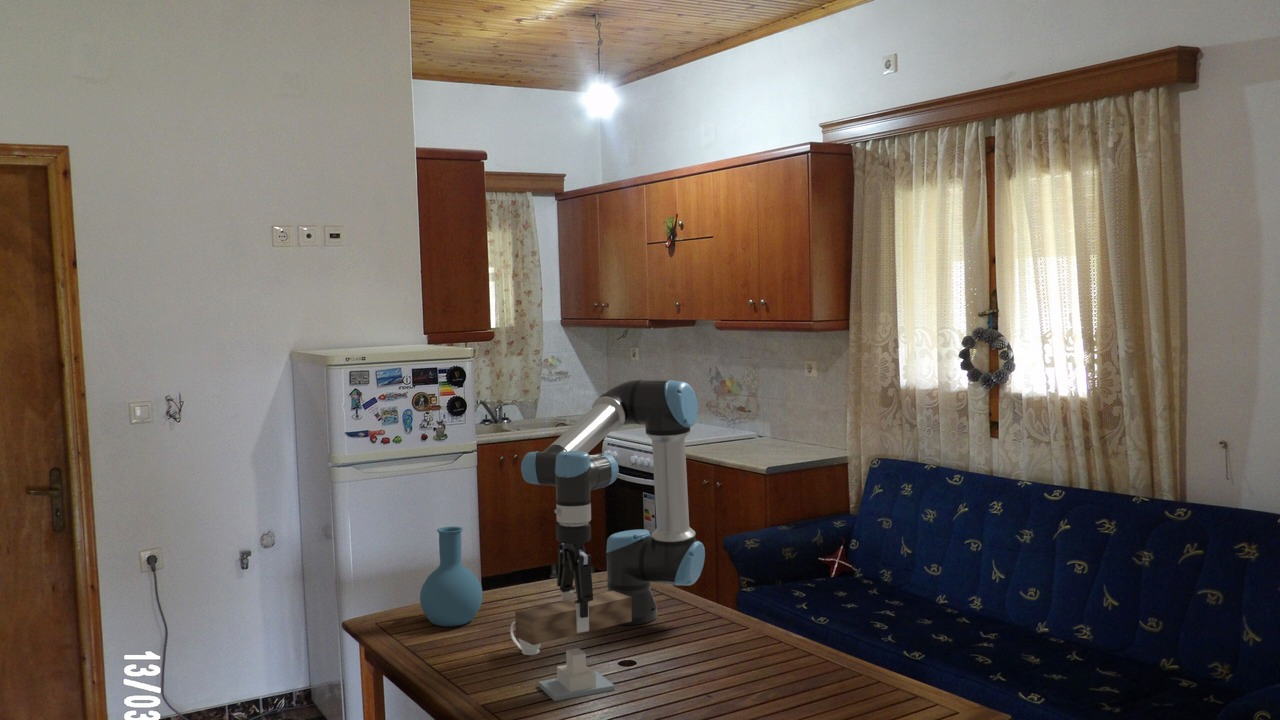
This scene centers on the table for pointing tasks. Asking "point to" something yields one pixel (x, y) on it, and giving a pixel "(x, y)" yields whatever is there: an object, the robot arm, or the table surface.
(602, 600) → the beam
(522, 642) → the cup
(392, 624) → the table surface
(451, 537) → the vase
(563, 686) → the fulcrum
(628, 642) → the table surface
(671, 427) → the robot arm
